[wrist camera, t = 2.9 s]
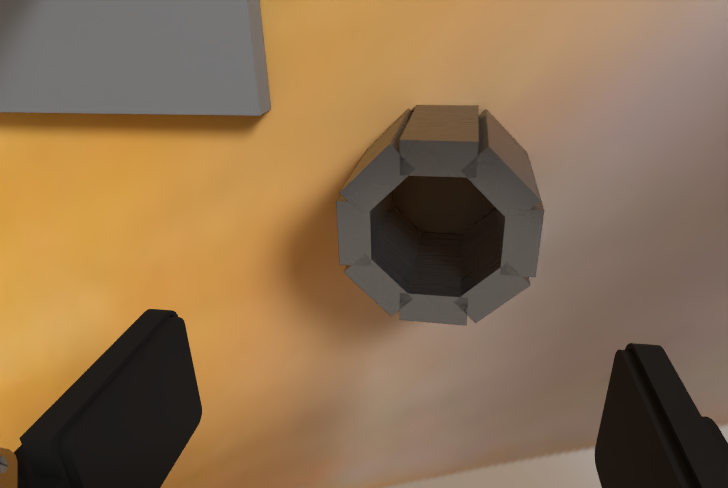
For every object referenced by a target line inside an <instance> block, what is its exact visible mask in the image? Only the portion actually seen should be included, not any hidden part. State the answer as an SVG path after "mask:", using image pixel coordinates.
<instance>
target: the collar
mask: <svg viewBox="0 0 728 488" xmlns="http://www.w3.org/2000/svg"><path fill="white" fill-rule="evenodd" d="M408 176H437V177H467V178H468V179H469V180H470V181H471V182H472V183H473V185H474V186H475V187H476V188H477V189H478V190H479V191H480V192H481V193H482V194H483V195H484V196H485V197H486V198H487V199H488V200H489V201H490V202H491V203H492V204H493V205H494V206H495V207H496V209H494V210H493V211H492V212H491V213H489V214H488V215H487V216H486V217H484V218H483V219H482V220H481V221H479V222H478V223H477V224H476V225H474V226H473V227H472V228H471V229H469V230H468V231H467V232H466V233H464V234H446V233H426V232H421V231H420V230H419V229H418V228H417V227H416V226H415V225H414V224H412V223H411V222H410V221H409V220H408V219H407V218H406V217H405V216H404V215H403V214H402V213H401V212H400V211H399V210H398V209H397V208H396V207H395V206H394V205H393V204H392V190H393V189H395V188H396V187H397V186H398V185H399V184H400V183H401V182H402V181H403V180H404V179H405V178H407V177H408ZM340 194H341V195H340V196H339V198H338V199H337V201H336V209H337V226H338V244H339V262H340V265H347V266H346V268H345V271H344V273H345V274H346V275H347V276H348V277H349V278H350V279H351V280H352V281H353V282H354V283H356V284H357V285H358V286H359V287H360V288H361V289H362V290H363V291H364V292H365V293H366V294H367V295H369V296H370V297H371V298H372V299H373V300H374V301H375V302H376V303H377V304H378V305H379V306H381V307H382V308H383V309H384V310H385V311H386V312H387V313H388V314H389V315H390V316H392V315H393V314H395V313H396V312H397V311H398V310H400V320H407V321H419V322H431V323H443V324H455V325H466V324H467V315H468V316H469V317H470V318H471V319H472V320H473V321H474V322H475V323H477V322H478V321H479V320H481V319H482V318H484V317H485V316H487V315H488V314H490V313H491V312H492V311H494V310H495V309H497V308H498V307H500V306H501V305H503V304H504V303H505V302H507V301H508V300H510V299H511V298H513V297H514V296H516V295H517V294H518V293H520V292H521V291H523V290H524V289H526V288H527V287H529V286H530V280H529V277H536V270H537V262H538V254H539V246H540V239H541V231H542V223H543V215H544V208H543V205H542V201H541V198H540V194H539V191H538V188H537V184H536V181H535V177H534V174H533V170H532V167H531V163H530V161H529V158H528V154H527V152H526V151H525V150H524V149H523V148H522V147H521V146H520V145H519V144H518V143H517V141H516V140H515V139H514V138H513V137H512V136H511V135H510V134H509V133H508V132H507V131H506V130H505V129H504V128H503V126H502V125H501V124H500V123H499V122H498V121H497V120H496V119H495V118H494V117H493V116H492V115H491V114H490V113H489V111H488V110H487V109H486V110H485V111H484V112H483V113H482V114H481V115H479V116H478V106H447V105H416V107H415V109H414V111H413V112H412V111H411V110H410V109H408V110H407V111H406V112H405V113H404V114H403V115H402V116H401V117H400V118H399V119H398V120H397V121H396V122H395V123H394V124H393V125H392V126H391V127H390V128H389V129H388V130H387V131H386V132H385V133H384V134H383V135H382V136H381V137H379V138H378V139H377V140H376V141H375V142H374V143H373V144H372V145H371V146H370V147H369V148H368V150H367V151H366V153H365V154H364V156H363V157H362V159H361V160H360V162H359V163H358V165H357V167H356V168H355V170H354V171H353V173H352V174H351V176H350V177H349V179H348V180H347V182H346V183H345V185H344V186H343V188H342V190H341V191H340Z"/></svg>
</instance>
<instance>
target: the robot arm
mask: <svg viewBox="0 0 728 488" xmlns="http://www.w3.org/2000/svg"><path fill="white" fill-rule="evenodd" d="M201 415H202V406H201V401H200V396H199V391H198V386H197V382H196V377H195V372H194V367H193V362H192V357H191V352H190V347H189V342H188V337H187V332H186V327H185V323H184V320H183V319H182V318H180V317H178V315H177V314H176V312H174V311H171V310H157V309H149V310H147V311H145V312H144V313H143V314H142V315H141V316H140V317H139V318H138V319H137V320H136V321H135V322H134V323H133V324H132V325H131V326H130V327H129V328H128V329H127V330H126V331H125V332H124V333H123V334H122V335H121V336H120V337H119V338H118V339H117V340H116V341H115V342H114V344H113V345H112V346H111V347H110V348H109V349H108V350H107V351H106V352H105V353H104V354H103V355H102V356H101V357H100V358H99V359H98V360H97V361H96V362H95V363H94V364H93V365H92V366H91V367H90V368H89V369H88V370H87V371H86V372H85V373H84V374H83V375H82V376H81V377H80V378H79V379H78V380H77V381H76V382H75V383H74V384H73V385H72V386H71V387H70V388H69V389H68V390H67V391H66V392H65V393H64V394H63V395H62V396H61V397H60V398H59V399H58V400H57V401H56V402H55V403H54V404H53V405H52V406H51V407H50V408H49V409H48V410H47V411H46V412H45V413H44V414H43V415H42V416H41V417H40V418H39V419H38V420H37V421H36V422H35V423H34V424H33V425H32V426H31V427H30V428H29V429H28V430H27V431H26V432H25V433H24V434H23V435H22V436H21V437H20V441H21V443H22V445H21V446H20V447H19V448H18V449H17V450H16V451H15V452H14V453H13V452H12V451H10V450H9V449H5V448H0V488H160V487H161V485H162V484H163V482H164V480H165V479H166V477H167V475H168V474H169V472H170V471H171V469H172V467H173V466H174V464H175V462H176V461H177V459H178V457H179V456H180V454H181V452H182V451H183V449H184V448H185V446H186V444H187V443H188V441H189V439H190V438H191V436H192V434H193V433H194V431H195V430H196V428H197V426H198V424H199V422H200V419H201ZM595 463H596V468H597V472H598V475H599V479H600V482H601V486H602V488H728V443H727V441H726V440H725V438H724V436H723V435H722V433H721V431H720V429H719V428H718V426H717V425H716V424H715V422H714V421H713V420H712V419H710V418H708V417H702V416H701V415H700V413H699V411H698V410H697V408H696V406H695V404H694V402H693V401H692V399H691V397H690V395H689V394H688V392H687V390H686V388H685V387H684V385H683V383H682V381H681V379H680V378H679V376H678V374H677V372H676V371H675V369H674V367H673V365H672V363H671V362H670V360H669V358H668V356H667V355H666V353H665V351H664V349H663V348H662V347H661V346H659V345H647V344H633V343H630V344H628V345H627V346H626V349H625V350H617V352H616V354H615V358H614V363H613V368H612V372H611V377H610V382H609V386H608V391H607V396H606V400H605V405H604V410H603V414H602V419H601V424H600V428H599V433H598V438H597V442H596V447H595Z"/></svg>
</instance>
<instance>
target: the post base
mask: <svg viewBox="0 0 728 488" xmlns="http://www.w3.org/2000/svg"><path fill="white" fill-rule="evenodd" d="M270 109H271V105H270V96H269V86H268V77H267V67H266V58H265V48H264V39H263V29H262V20H261V11H260V1H259V0H0V112H23V113H99V114H174V115H250V116H260V115H262V114H264V113H265V112H267V111H268V110H270Z"/></svg>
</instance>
